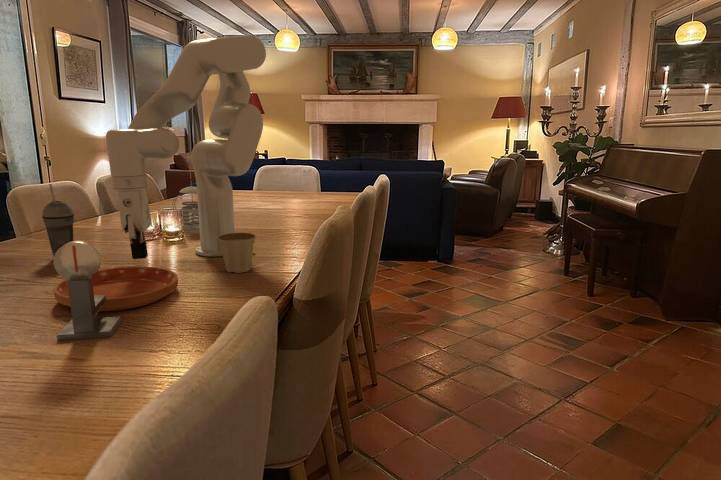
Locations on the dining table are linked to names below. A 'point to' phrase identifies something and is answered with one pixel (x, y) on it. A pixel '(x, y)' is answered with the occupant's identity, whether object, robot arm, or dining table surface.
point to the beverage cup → (58, 223)
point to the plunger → (100, 308)
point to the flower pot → (237, 251)
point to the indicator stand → (82, 292)
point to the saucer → (126, 287)
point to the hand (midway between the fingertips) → (140, 257)
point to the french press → (189, 210)
